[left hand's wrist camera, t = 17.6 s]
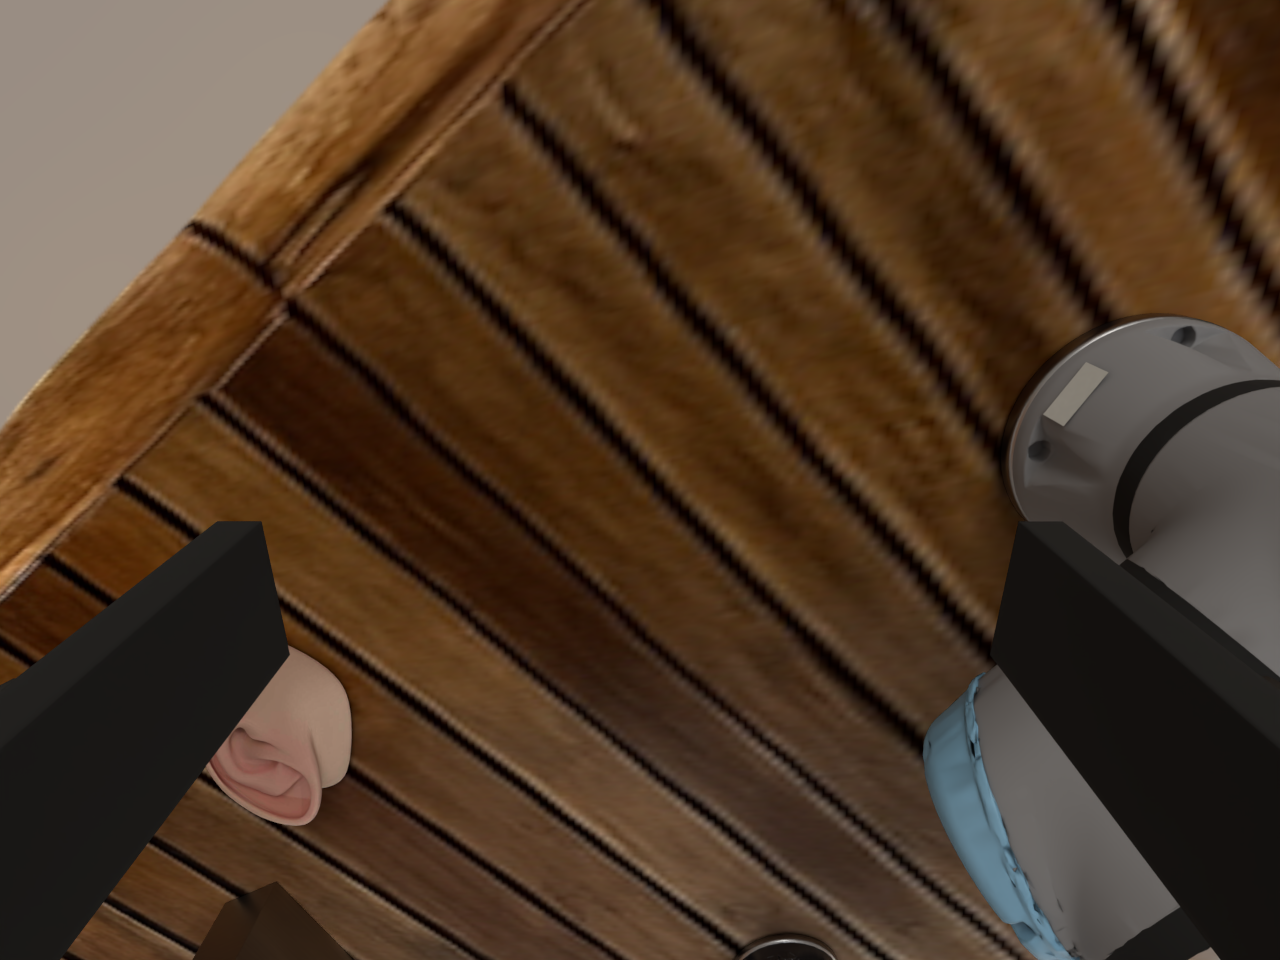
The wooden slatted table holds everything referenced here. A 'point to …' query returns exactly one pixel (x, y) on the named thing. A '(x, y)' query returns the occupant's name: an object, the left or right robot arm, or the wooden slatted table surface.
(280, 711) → the anatomical model
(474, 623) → the wooden slatted table surface
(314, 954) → the bar
